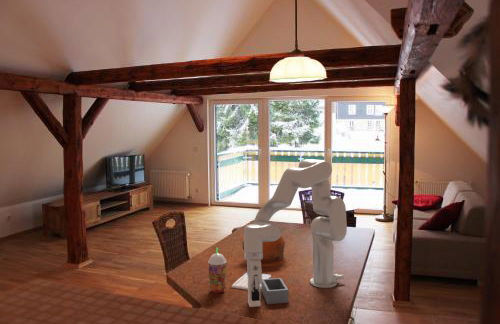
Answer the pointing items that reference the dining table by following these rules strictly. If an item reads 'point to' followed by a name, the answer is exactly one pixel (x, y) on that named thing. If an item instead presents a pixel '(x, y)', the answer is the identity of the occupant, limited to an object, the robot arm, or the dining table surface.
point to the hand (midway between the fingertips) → (254, 296)
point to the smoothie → (217, 272)
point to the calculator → (243, 281)
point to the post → (250, 302)
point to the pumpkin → (272, 252)
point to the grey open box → (275, 291)
